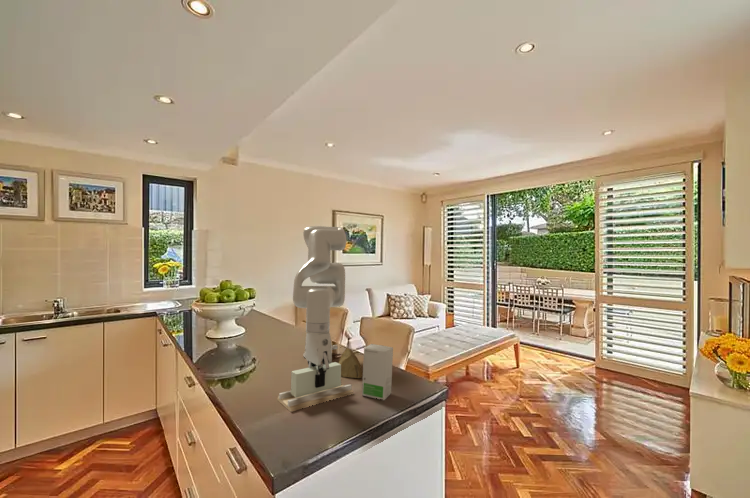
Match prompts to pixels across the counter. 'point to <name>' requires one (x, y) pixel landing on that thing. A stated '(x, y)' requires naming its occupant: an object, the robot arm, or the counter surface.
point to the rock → (350, 365)
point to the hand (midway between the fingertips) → (316, 384)
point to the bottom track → (313, 397)
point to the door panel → (306, 380)
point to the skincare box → (377, 371)
